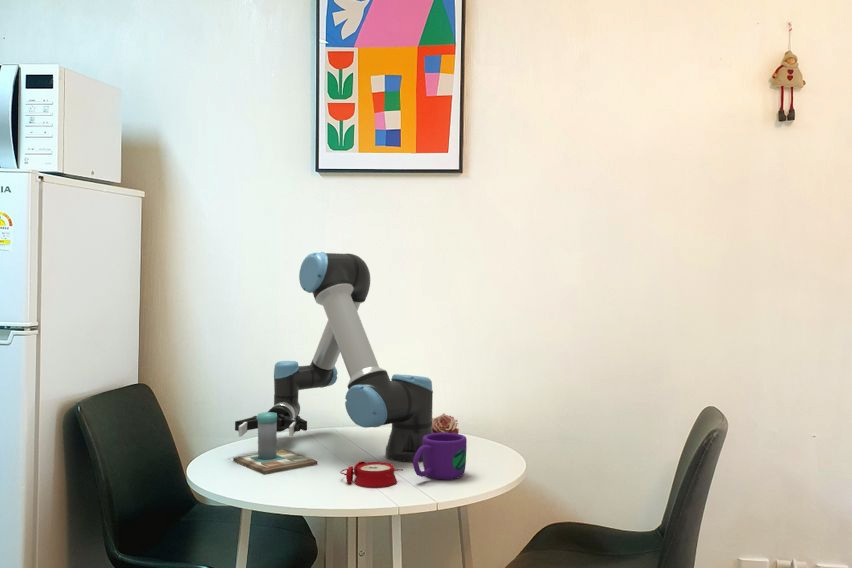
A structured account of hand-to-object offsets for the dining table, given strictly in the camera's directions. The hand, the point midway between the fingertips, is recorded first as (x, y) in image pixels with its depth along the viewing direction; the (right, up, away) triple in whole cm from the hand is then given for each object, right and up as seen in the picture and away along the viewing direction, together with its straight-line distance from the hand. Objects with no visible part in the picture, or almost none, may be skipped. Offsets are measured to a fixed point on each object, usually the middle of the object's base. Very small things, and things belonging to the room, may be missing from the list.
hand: (265, 431), depth 191 cm
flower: (+49, -10, +31) cm, 59 cm away
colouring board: (+2, -9, +3) cm, 10 cm away
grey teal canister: (0, -8, +3) cm, 8 cm away
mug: (+46, -10, -12) cm, 49 cm away
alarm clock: (+29, -10, -15) cm, 34 cm away
